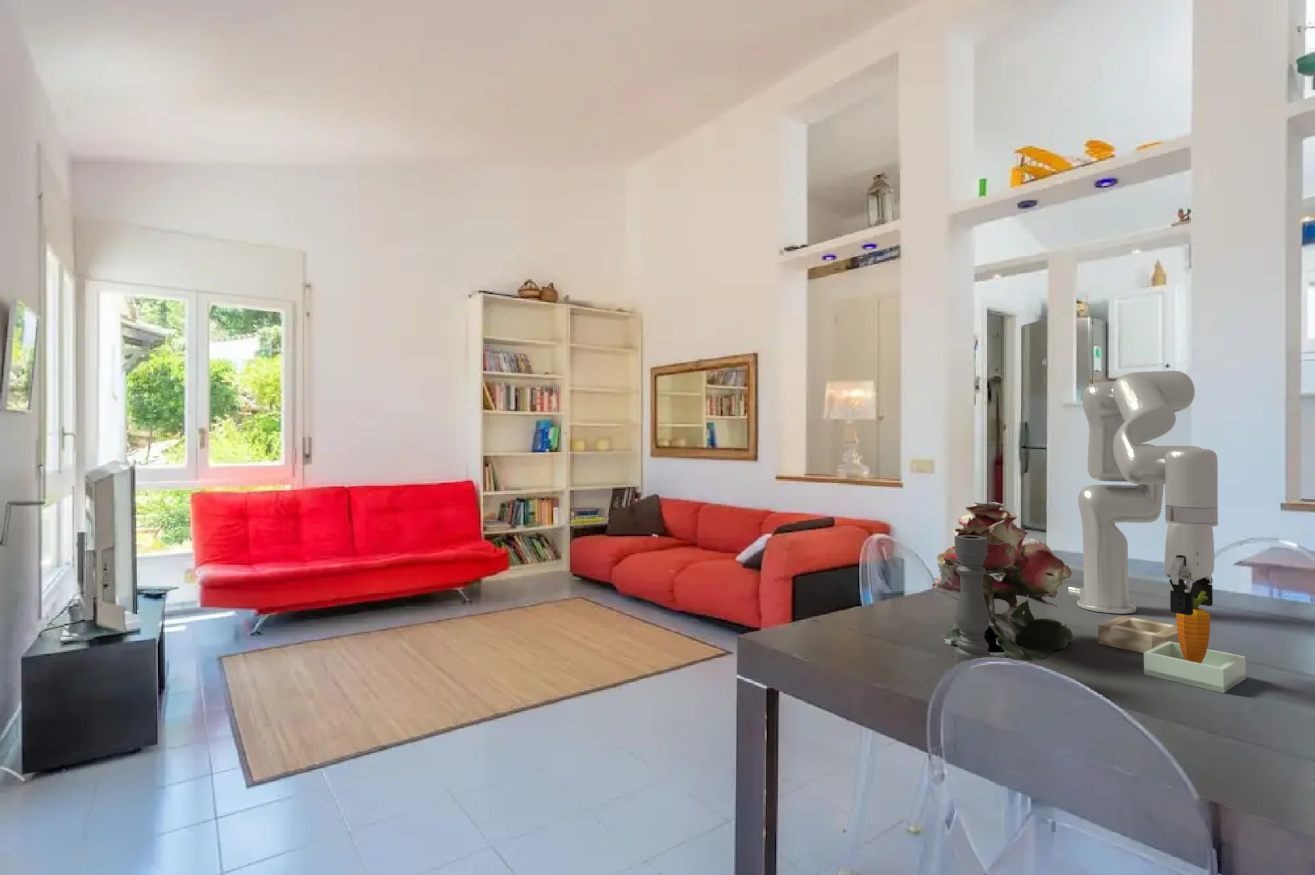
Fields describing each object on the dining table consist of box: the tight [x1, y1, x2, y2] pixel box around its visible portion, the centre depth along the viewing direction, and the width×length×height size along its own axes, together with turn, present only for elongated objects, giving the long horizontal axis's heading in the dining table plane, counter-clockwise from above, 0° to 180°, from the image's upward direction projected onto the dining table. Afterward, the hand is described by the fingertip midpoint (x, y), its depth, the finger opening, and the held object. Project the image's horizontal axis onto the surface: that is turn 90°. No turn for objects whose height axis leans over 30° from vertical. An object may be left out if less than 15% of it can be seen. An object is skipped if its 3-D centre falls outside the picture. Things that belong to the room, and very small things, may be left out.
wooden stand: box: [1097, 615, 1179, 654], centre depth 140 cm, size 12×12×4 cm
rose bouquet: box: [931, 501, 1074, 664], centre depth 146 cm, size 26×29×30 cm
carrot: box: [1175, 591, 1211, 663], centre depth 122 cm, size 5×5×15 cm
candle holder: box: [954, 535, 991, 666], centre depth 127 cm, size 6×6×25 cm
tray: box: [1143, 641, 1247, 694], centre depth 122 cm, size 12×12×4 cm
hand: (1191, 609), depth 122 cm, fingers open, 9 cm apart
